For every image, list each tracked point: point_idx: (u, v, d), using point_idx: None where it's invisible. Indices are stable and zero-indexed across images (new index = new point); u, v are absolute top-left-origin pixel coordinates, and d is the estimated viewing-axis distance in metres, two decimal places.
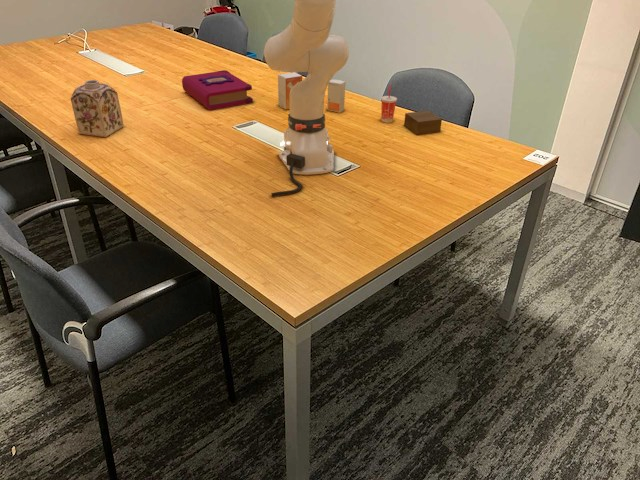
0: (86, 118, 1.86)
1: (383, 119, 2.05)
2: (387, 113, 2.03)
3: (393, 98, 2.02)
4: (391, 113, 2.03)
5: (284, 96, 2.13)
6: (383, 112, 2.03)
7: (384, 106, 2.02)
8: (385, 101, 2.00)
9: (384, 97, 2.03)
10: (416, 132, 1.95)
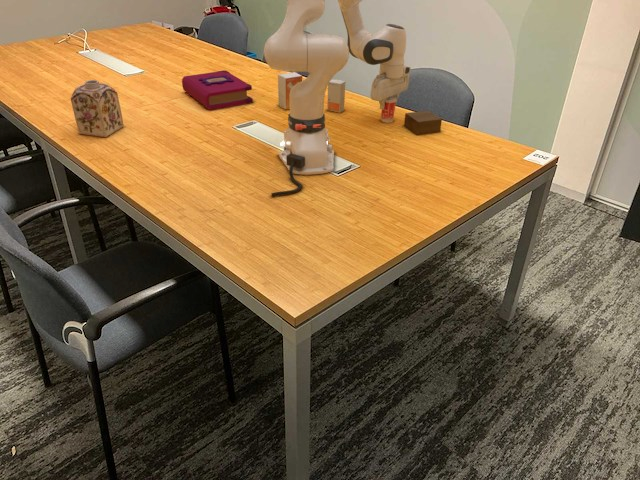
0: (86, 118, 1.86)
1: (383, 119, 2.05)
2: (387, 113, 2.03)
3: (393, 98, 2.02)
4: (391, 113, 2.03)
5: (284, 96, 2.13)
6: (383, 112, 2.03)
7: None
8: (385, 101, 2.00)
9: None
10: (416, 132, 1.95)
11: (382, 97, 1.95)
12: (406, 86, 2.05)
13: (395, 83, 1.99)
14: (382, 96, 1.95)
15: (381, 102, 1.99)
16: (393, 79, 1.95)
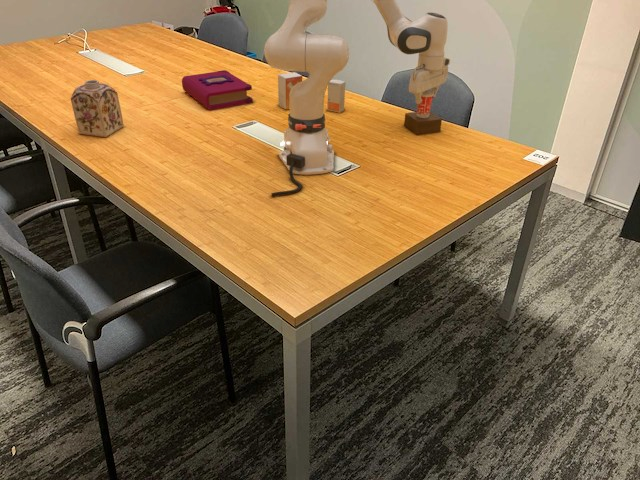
0: (86, 118, 1.86)
1: (419, 114, 1.96)
2: (424, 108, 1.93)
3: (430, 92, 1.93)
4: (428, 108, 1.94)
5: (284, 96, 2.13)
6: (419, 107, 1.94)
7: None
8: (422, 95, 1.91)
9: None
10: (416, 132, 1.95)
11: (421, 90, 1.86)
12: (444, 79, 1.95)
13: (434, 75, 1.89)
14: (421, 89, 1.85)
15: (417, 96, 1.88)
16: (432, 71, 1.85)
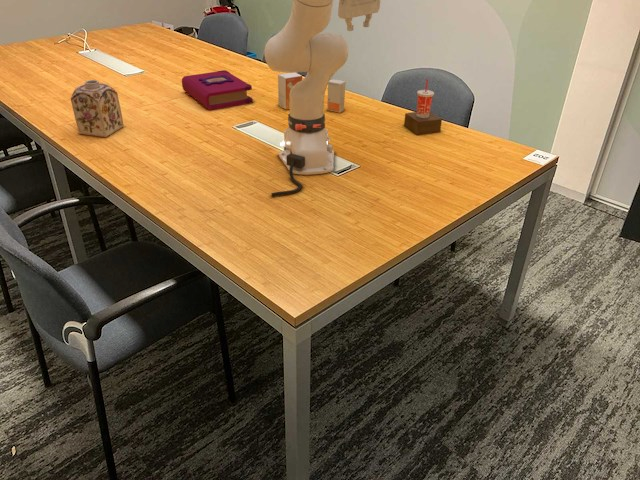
0: (86, 118, 1.86)
1: (419, 114, 1.96)
2: (424, 108, 1.93)
3: (430, 92, 1.93)
4: (428, 108, 1.94)
5: (284, 96, 2.13)
6: (419, 107, 1.94)
7: (421, 100, 1.92)
8: (422, 95, 1.91)
9: (420, 91, 1.94)
10: (416, 132, 1.95)
11: (350, 15, 1.84)
12: (377, 7, 1.94)
13: (365, 2, 1.88)
14: (350, 14, 1.84)
15: (348, 22, 1.87)
16: None
